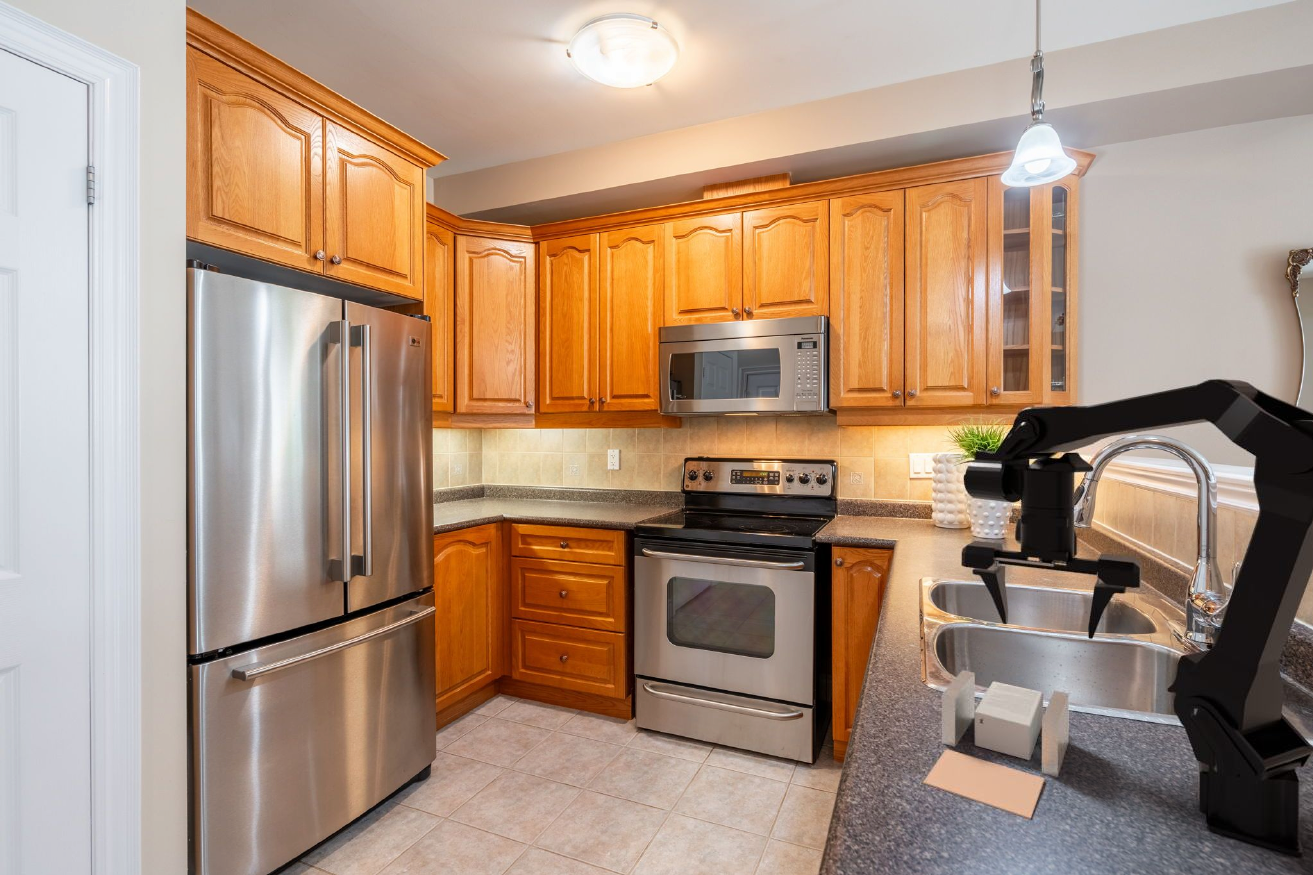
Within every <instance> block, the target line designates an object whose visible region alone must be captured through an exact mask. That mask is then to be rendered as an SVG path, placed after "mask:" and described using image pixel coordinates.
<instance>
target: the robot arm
mask: <svg viewBox="0 0 1313 875" xmlns="http://www.w3.org/2000/svg"><path fill="white" fill-rule="evenodd" d="M1203 423H1211V424H1212V425H1214V426H1215V427H1216V428H1217V429H1218V430H1219V431H1220V432H1221V433H1223V434H1224V435H1225V436H1226V437H1227V439H1228V440H1230V441H1231V443H1234V444H1235V445H1236V446H1238V447H1239V448H1241V449H1243V450H1245V451H1246V452H1248V453H1250V454H1251V455H1253V456H1255V460H1254V469H1253V478H1252V482H1253V486H1254V490H1255V495H1256V499H1257V504H1258V507H1259V509H1258V516H1257V520H1256V522H1255V525H1254V528H1253V530H1252V533H1251V537H1250V540H1249V542H1248V545H1247V548H1246V552H1245V553H1244V556H1243V557H1244V558H1243V559H1242V563H1241V566H1240V569H1239V572H1238V574H1237V577H1236V581H1235V583H1234V586H1233V589H1232V591H1231V594H1230V596H1229V597H1230V598H1229V600H1228V603H1227V605H1226V606H1227V607H1226V609H1225V612H1224V616H1223V618H1222V621H1221V623H1220V627H1219V629H1218V632H1217V636H1216V638H1215V641H1214V644H1213V646H1212V647H1211V648H1210V649H1206V650H1201V651H1198V652H1197V651H1196V652H1193V653H1188V654H1182V655H1180V657H1179V660H1178V663H1177V668H1176V669H1177V670H1176V676H1175V679H1174V680H1173V683H1172V684H1171V685H1170V686H1169V687H1167V689H1166V691H1168V693H1174V695H1173V696H1172V702H1171V703H1172V705H1171V706H1172V711H1173V713H1174V714H1175V716H1177V718H1178V720H1179V722H1180V724H1181V725H1182V726H1183V727H1184V729H1185V733H1186V735H1187V737H1188V741H1189V744H1190V747H1191V750H1192V752H1193V755H1194V757H1195V760H1196V761H1197V762H1198V768H1197V769H1198V770H1197V771H1198V777H1197V778H1198V779H1197V781H1198V782H1197V783H1198V784H1197V785H1198V786H1197V789H1198V790H1197V792H1198V793H1197V802H1198V811H1199V812H1200V813H1201V814H1202V815H1204V817H1205V819H1204V820H1205V825H1206V828H1207V830H1209V831H1212V832H1214V833H1217V834H1221V835H1225V836H1226V837H1227V836H1228V837H1231V838H1234V839H1238V840H1240V841H1245V842H1248V843H1251V844H1255V845H1257V846H1261V847H1265V848H1268V849H1271V850H1274V851H1278V852H1281V853H1284V854H1288V855H1291V856H1293V857H1295V856H1296V857H1299V858H1303V857H1304V849H1303V847H1302V843H1301V840H1300V779H1299V776H1298V774H1297V772H1296V770H1295V769H1296V768H1299V767H1300V768H1303V767H1306V766H1307V765H1308V763H1309V761H1310V760H1311V758H1312V757H1313V745H1312V744H1311V743H1310V742H1309V741H1308V740H1307V738H1305V737H1304V735H1302V734H1301V733H1300V731H1299V730H1297V728H1296V727H1295V726H1294V725H1293V724H1292V723H1291V722H1290V721H1289V720H1288V719H1287V717H1286V716H1285V715H1284V714H1283V705H1284V697H1285V688H1284V683H1283V680H1282V675H1281V671H1280V665H1279V664H1280V659H1281V655H1282V654H1283V651H1284V647H1285V645H1286V642H1287V640H1288V637H1289V634H1290V632H1291V628H1292V626H1293V624H1294V621H1295V618H1296V616H1297V614H1298V610H1299V607H1300V605H1301V603H1302V600H1303V598H1304V597H1303V596H1304V594H1305V592H1306V589H1307V587H1308V584H1309V581H1310V578H1311V576H1312V573H1313V412H1311V411H1310V410H1306V409H1305V408H1302V407H1299V406H1298V405H1294V404H1292V403H1289V402H1288V401H1285V400H1283V399H1280V398H1278V397H1275V396H1273V395H1270V394H1268V393H1267V392H1264V391H1263V390H1261V389H1259V388H1257V387H1255V385H1254V386H1253V385H1252V384H1251V383H1249V382H1247V381H1242V380H1240V379H1239V380H1237V379H1224V378H1222V379H1221V378H1215V379H1207V380H1204V381H1202V382H1200V383H1197V384H1194V385H1193V384H1192V385H1189V386H1184V387H1179V388H1174V389H1169V390H1168V389H1167V390H1162V391H1158V392H1152V393H1148V394H1143V395H1137V396H1132V397H1127V398H1122V399H1117V400H1111V401H1106V402H1102V403H1097V404H1091V405H1073V406H1072V405H1070V406H1069V405H1068V406H1066V405H1065V406H1060V405H1059V406H1053V405H1052V406H1028V407H1025V408H1023V409H1021V410H1020V411H1018V412H1017V416H1016V417H1015V419H1014V421H1013V425H1012V427H1011V428H1010V430H1009V431H1008V432H1007V434H1006V436H1005V437H1004V438H1003V440H1002V442H1001V443H1000V444H999V445H998V448H997V449H996V450H995V451H993V450H976V451H975V452H974V459H973V460H972V461H971V462H970V463H969V464H968V465H967V468H966V469H965V473H964V474H963V485H964V488H965V490H966V492H967V494H968V495H969V496H970V497H972V498H973V499H976V500H977V499H978V500H979V499H980V500H987V501H995V502H1003V503H1004V502H1005V503H1018V502H1020V518H1016V524H1015V532H1014V539H1015V540H1014V541H1016V543H1017V544H1020V551H1016V550H1008V549H1007V550H1006V549H1003V548H1004V547H1003V543H1000V542H991V541H979V540H973V541H972V542H970V543H968V544H967V545H965V546H964V547H963V548H962V550H961V566H962V567H963V568H970V569H972V570H971V571H972V574H973V575H975V576H980V579H981V580H982V582H983V584H984V585H985V587H986V589H987V590H988V592H989V594H990V596H991V598H992V600H993V603H994V606H995V608H996V610H997V612H998V615H999V618H1000V620H1001V622H1002V624H1003V625H1007V624H1009V623H1008V622H1009V605H1008V598H1007V597H1008V596H1007V588H1006V587H1007V586H1006V565H1007V566H1015V567H1016V566H1017V567H1023V568H1031V569H1033V568H1034V569H1039V570H1049V571H1058V572H1064V573H1066V572H1067V573H1073V574H1083V575H1092V576H1096V579H1097V580H1096V582H1095V584H1094V587H1093V594H1092V601H1091V607H1090V611H1089V612H1090V613H1089V620H1088V627H1087V632H1088V633H1087V634H1088V639H1089V640H1090V639H1091V640H1093V639H1094V636H1095V634H1096V631H1097V628H1098V625H1099V624H1100V621H1101V618H1102V616H1103V614H1104V611H1105V609H1106V607H1107V606H1108V604H1109V602H1111V600H1112V598H1113V597H1114V595H1115V594H1121V595H1125V594H1126V593H1127V588H1131V589H1137V588H1138V589H1139V588H1140V587H1141V581H1142V562H1141V561H1140V560H1139V558H1138V557H1136V556H1131V555H1121V554H1113V553H1111V554H1110V553H1102V552H1101V553H1100V555H1099V556H1098V559H1092V558H1083V557H1076V556H1077V555H1078V535H1077V533H1076V529H1075V473H1092V472H1093V471H1094V469H1095V468H1094V466H1093V465H1091V464H1090V463H1089V462H1088V461H1086V460H1085V459H1083V458H1082V456H1081V455H1080V453H1079V452H1073V451H1076V450H1079V449H1081V448H1085V447H1088V446H1091V445H1094V444H1095V443H1097V442H1099V441H1101V440H1104V439H1106V438H1110V437H1113V436H1122V435H1128V434H1133V433H1142V432H1148V431H1155V430H1161V429H1168V428H1175V427H1183V426H1189V425H1190V426H1191V425H1195V424H1203ZM1059 453H1063V454H1062V455H1061V456H1060V457H1055V456H1056V455H1058V454H1059ZM1031 460H1034V461H1033V462H1032V463H1031V464H1030V461H1031ZM1029 558H1032V559H1033V558H1034V559H1038V561H1037V560H1032V559H1031V560H1030V559H1029Z"/></svg>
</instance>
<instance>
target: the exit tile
mask: <svg viewBox="0 0 1313 875" xmlns="http://www.w3.org/2000/svg"><path fill="white" fill-rule="evenodd" d="M922 782H923V783H922V784H924V785H926V786H930V787H933V788H936V789H938V790H942V791H945V792H948V793H951V794H954V795H956V796H960V797H963V798H965V799H968V800H970V801H974V802H977V803H980V804H983V805H986V806H990V807H992V808H996V809H999V810H1000V811H1004V812H1007V813H1010V814H1014V815H1016V816H1019V817H1023V818H1025V819H1028V820H1032V817H1033V815H1034V811H1035V808H1036V805H1037V804H1038V799H1039V797H1040V796H1041V791H1042V790H1043V786H1044V783H1045V778H1044V777H1042V776H1038V775H1035V774H1032V773H1027V772H1024V771H1021V770H1018V769H1015V768H1011V767H1008V766H1004V765H1001V764H998V763H994V762H991V761H988V760H984V759H980V758H977V757H975V756H971V755H969V754H968V755H967V754H965V753H960V752H958V751H957V752H956V751H954V750H951V749H949V748H946V749H945V750H944V751H943V753H942V754H941V756H940V757H939V759H938V760H937V761H936V763H935V764H934V766H933V767H932V768H931V770H930V771H929V773H928V775H927V776H926V778H925V779H924V780H923V781H922Z"/></svg>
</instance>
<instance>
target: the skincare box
mask: <svg viewBox="0 0 1313 875" xmlns="http://www.w3.org/2000/svg"><path fill="white" fill-rule="evenodd" d="M1043 716H1044V692H1043V691H1039V690H1033V689H1029V688H1025V687H1021V686H1016V685H1012V684H1006V683H1002V682H998V681H992V683H991V684H990V686H989V687H988V689H987V691H986V693H985V694H984V696H983V697H982V699H981V701H980V702H979V703H978V705H977V707H976V709H975V712H974V719H973V721H974V745H975V746H976V747H980V748H983V749H986V750H990V751H994V752H998V753H1001V754H1005V755H1008V756H1013V757H1017V758H1019V759H1023V760H1027V761H1030V760H1031V759H1032V755H1033V752H1034V750H1035V747H1036V744H1037V740H1038V737H1039V735H1040V732H1041V730H1042V718H1043Z"/></svg>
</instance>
